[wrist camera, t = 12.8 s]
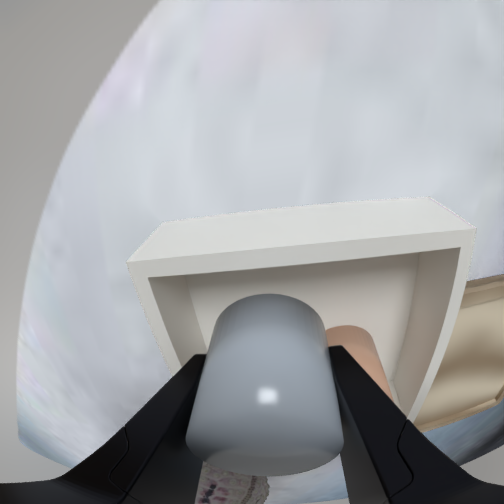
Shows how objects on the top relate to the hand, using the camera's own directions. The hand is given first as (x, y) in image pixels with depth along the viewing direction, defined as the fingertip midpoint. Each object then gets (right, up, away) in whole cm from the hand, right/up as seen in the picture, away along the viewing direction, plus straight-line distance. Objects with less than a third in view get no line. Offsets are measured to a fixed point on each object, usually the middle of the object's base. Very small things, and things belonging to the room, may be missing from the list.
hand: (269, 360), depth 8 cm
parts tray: (+15, -4, +6) cm, 17 cm away
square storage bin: (+2, 0, +5) cm, 6 cm away
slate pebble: (0, 0, +1) cm, 1 cm away
